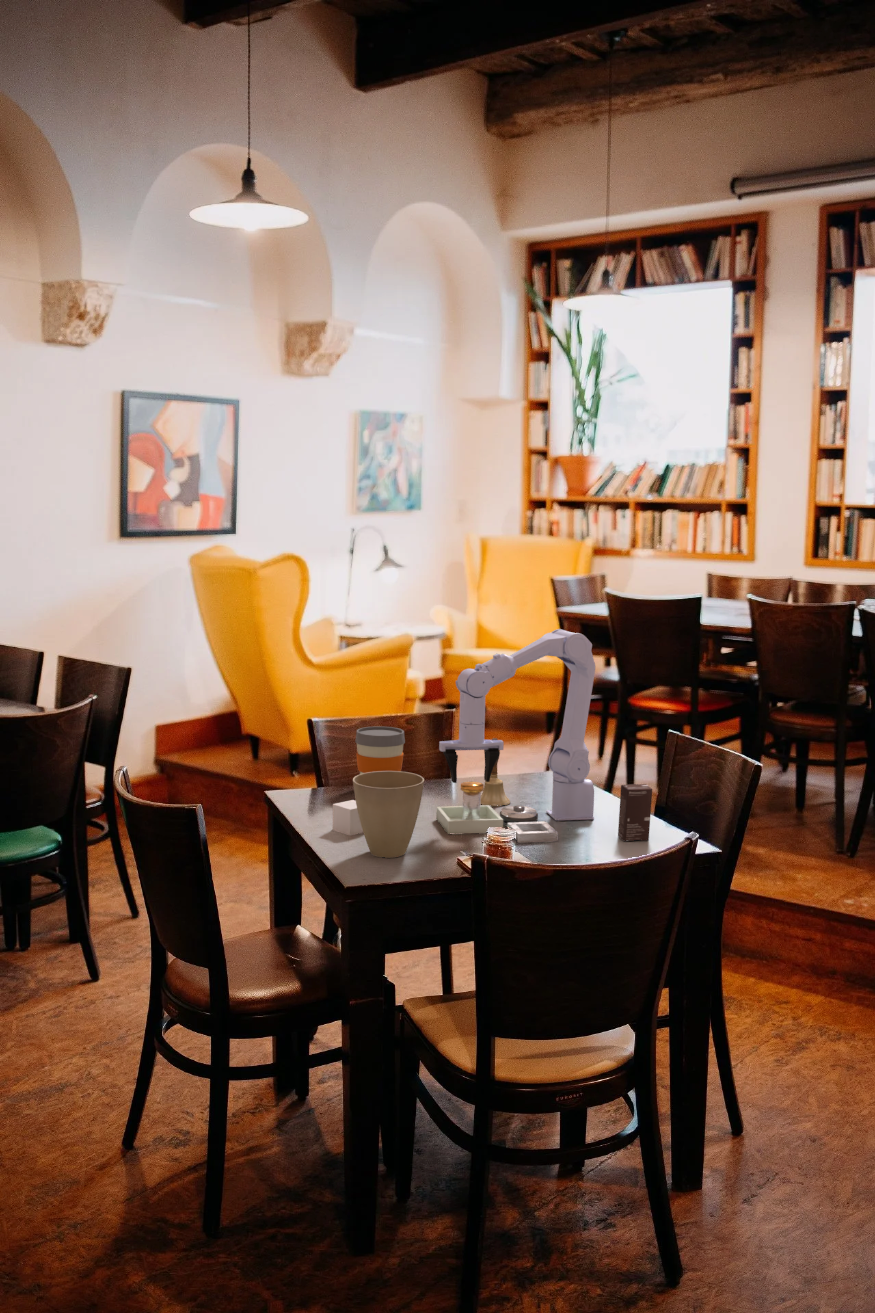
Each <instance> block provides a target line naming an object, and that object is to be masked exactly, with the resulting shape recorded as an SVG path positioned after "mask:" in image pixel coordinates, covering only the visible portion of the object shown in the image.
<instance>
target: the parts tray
mask: <svg viewBox="0 0 875 1313" xmlns="http://www.w3.org/2000/svg"><path fill="white" fill-rule="evenodd" d="M492 807H493V806H490V805H481V804H480V819H477V820H462V818H463V805H456V806H454V805H453V806H436V808H435V810H436V812H435V814H436V815H435V816H436V818H435V820H436V819H437V820H438V821H437V820H436V821H437V822H438V823H439V822H440V824H441V825H442V826H441V825H440V824H439V825H440V826H441V828H442V827H443V828H444V829H445V830H444V829H443V828H442V829H443V830H444V831H445V833H446V832H447V833H448V834H450V833H479V834H486V833H485V832H486V831H487V829H488V828H489V827H503V828H504V825H503V819H502V818H501V817H500V814H499V813H498V812H497V811H496V810H495V809H494V808H492ZM447 833H446V834H447ZM448 834H447V835H448Z"/></svg>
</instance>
